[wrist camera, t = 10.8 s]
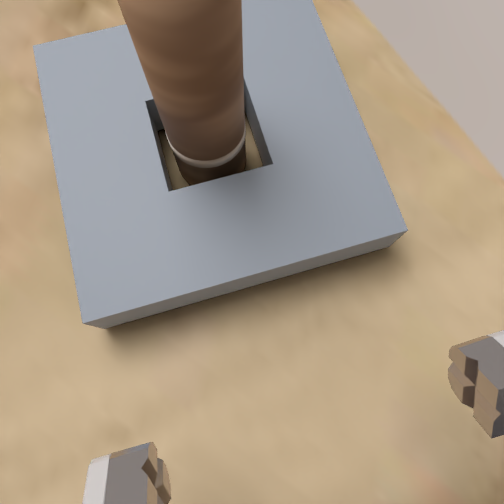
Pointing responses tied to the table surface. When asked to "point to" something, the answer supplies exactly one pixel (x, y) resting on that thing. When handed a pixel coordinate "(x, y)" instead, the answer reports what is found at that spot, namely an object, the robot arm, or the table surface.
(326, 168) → the socket board
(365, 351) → the table surface
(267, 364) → the table surface
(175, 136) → the peg
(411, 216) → the table surface
